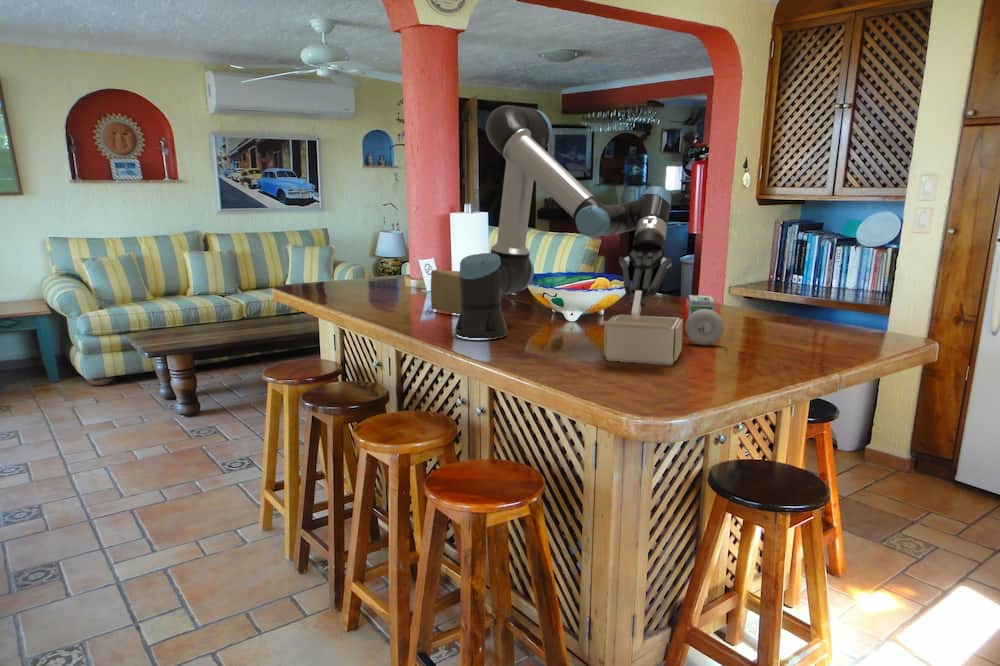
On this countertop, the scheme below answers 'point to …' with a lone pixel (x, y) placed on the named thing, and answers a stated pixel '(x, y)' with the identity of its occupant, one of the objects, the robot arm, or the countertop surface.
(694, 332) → the donut
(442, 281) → the brown box
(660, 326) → the flap
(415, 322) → the countertop surface
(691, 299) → the light bulb box
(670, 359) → the carton
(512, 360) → the countertop surface
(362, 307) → the countertop surface
